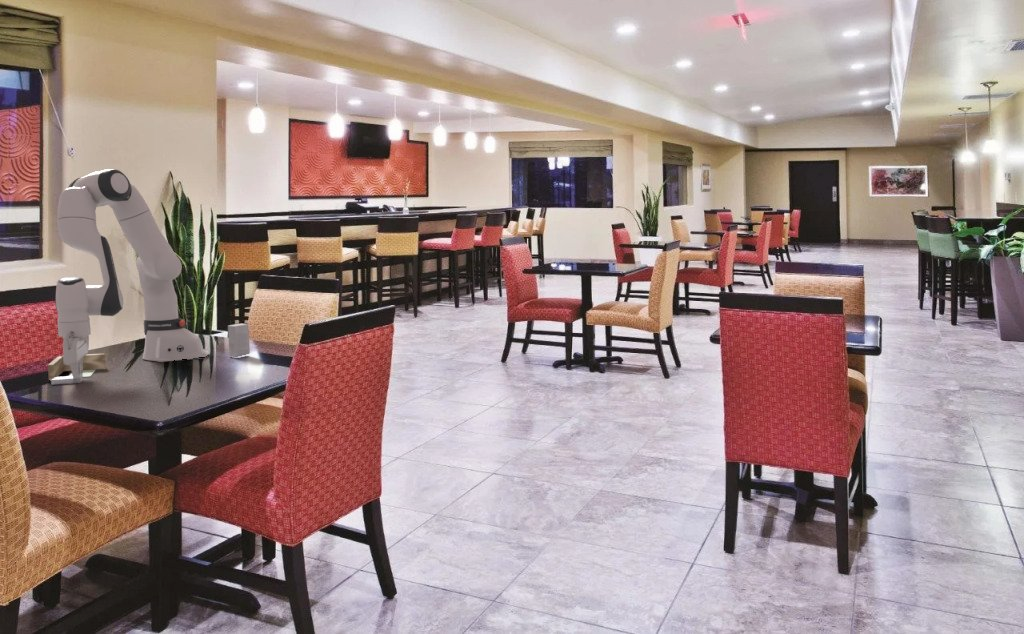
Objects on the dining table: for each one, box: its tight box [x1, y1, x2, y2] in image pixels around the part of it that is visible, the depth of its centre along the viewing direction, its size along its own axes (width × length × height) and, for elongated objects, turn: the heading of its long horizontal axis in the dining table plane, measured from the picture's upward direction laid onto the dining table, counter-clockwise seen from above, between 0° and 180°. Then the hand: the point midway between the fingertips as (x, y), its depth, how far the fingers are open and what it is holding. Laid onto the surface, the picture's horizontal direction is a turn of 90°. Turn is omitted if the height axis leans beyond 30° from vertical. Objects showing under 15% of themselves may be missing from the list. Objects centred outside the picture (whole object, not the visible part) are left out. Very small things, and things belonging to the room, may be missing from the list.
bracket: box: [50, 359, 84, 386], centre depth 248 cm, size 8×4×7 cm, turn 109°
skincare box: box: [227, 323, 251, 357], centre depth 289 cm, size 6×4×12 cm
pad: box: [68, 369, 97, 378], centre depth 260 cm, size 7×11×1 cm, turn 19°
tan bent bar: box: [47, 353, 107, 382], centre depth 260 cm, size 14×16×5 cm
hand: (77, 373), depth 249 cm, fingers closed on bracket, 4 cm apart
